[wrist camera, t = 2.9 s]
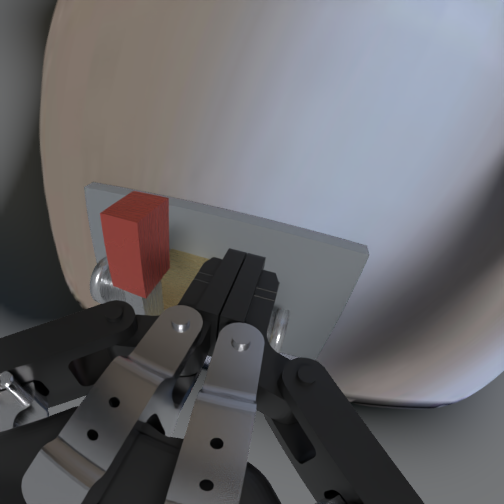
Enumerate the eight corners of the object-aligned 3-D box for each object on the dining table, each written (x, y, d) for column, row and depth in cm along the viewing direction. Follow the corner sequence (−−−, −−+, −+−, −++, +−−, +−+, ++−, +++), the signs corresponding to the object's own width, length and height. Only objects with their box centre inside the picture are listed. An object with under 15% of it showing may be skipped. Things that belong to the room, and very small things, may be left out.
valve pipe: (296, 282, 24) (283, 349, 17) (281, 326, 27) (266, 388, 21) (122, 234, 26) (76, 276, 19) (129, 278, 29) (92, 322, 23)
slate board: (367, 245, 22) (369, 255, 20) (316, 350, 30) (315, 360, 29) (93, 182, 25) (84, 186, 24) (110, 286, 33) (104, 292, 32)
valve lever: (179, 355, 20) (165, 382, 18) (151, 344, 21) (136, 369, 18) (172, 198, 13) (141, 224, 10) (130, 190, 13) (96, 212, 11)
